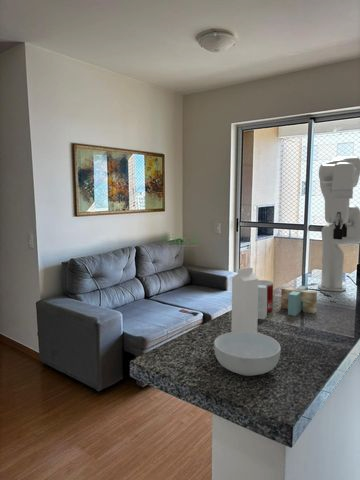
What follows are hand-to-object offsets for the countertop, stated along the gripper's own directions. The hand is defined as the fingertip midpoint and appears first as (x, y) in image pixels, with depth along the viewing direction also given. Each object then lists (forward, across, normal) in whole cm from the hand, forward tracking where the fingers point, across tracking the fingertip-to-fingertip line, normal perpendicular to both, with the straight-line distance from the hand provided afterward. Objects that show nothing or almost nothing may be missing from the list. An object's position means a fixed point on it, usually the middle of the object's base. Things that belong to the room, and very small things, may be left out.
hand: (340, 238), depth 142 cm
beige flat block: (+28, +13, -12) cm, 33 cm away
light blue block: (+28, +13, -12) cm, 33 cm away
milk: (+28, +49, -19) cm, 60 cm away
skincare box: (+28, +30, -22) cm, 47 cm away
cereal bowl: (+28, +70, -9) cm, 76 cm away
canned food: (+28, +20, -24) cm, 42 cm away
